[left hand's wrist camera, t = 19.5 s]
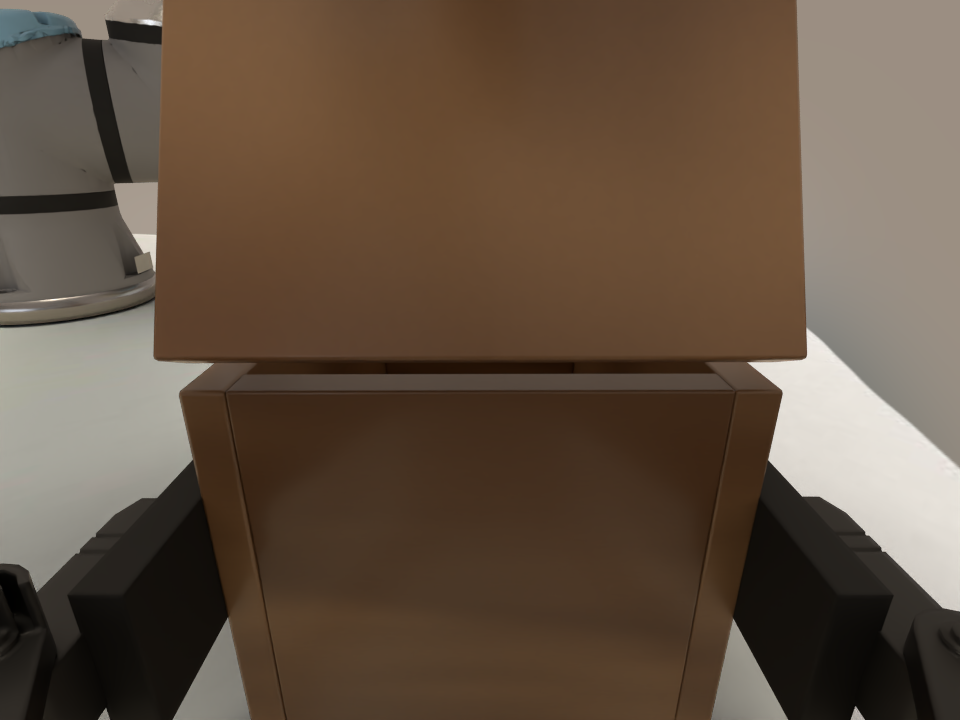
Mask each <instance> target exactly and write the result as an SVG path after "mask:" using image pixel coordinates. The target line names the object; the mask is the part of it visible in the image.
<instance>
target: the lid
mask: <svg viewBox="0 0 960 720" xmlns="http://www.w3.org/2000/svg"><path fill="white" fill-rule="evenodd" d="M806 356H807V338H806V305H805V272H804V238H803V204H802V171H801V138H800V104H799V71H798V37H797V5H796V0H163V13H162V52H161V90H160V128H159V166H158V206H157V243H156V281H155V319H154V359H155V360H158V361H165V362H178V363H563V362H781V361H794V360H803V359H805V358H806Z"/></svg>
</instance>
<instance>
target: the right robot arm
mask: <svg viewBox="0 0 960 720" xmlns="http://www.w3.org/2000/svg"><path fill="white" fill-rule="evenodd" d="M162 13H163V0H116V1H115V3H114V4H113V5H112V6H111V7H110V9H109V10H108V11H107V12H106V13H105V15H104V16H105V21H106V25H107V30H108V34H109V40H94V39H82V35H81V31H80V30H79V29H78V28H77V26H76V24H75V23H74V22H73V21H72V20H71V19H70V18H68V17H65V16H62V15H59V14H54V13H49V12H31V11H29V10H20V9H0V325H18V324H34V323H45V322H55V321H63V320H70V319H77V318H83V317H89V316H95V315H100V314H105V313H109V312H114V311H118V310H122V309H126V308H129V307H132V306H136V305H139V304H141V303H144V302H146V301H149V300H151V299H152V298H154V297H155V281H156V273H155V272H154V271H153V265H152V260H151V256H150V252H147V253H145V254H144V253H143V252H142V250H141V248H140V247H139V245H138V243H137V242H136V240H135V238H134V237H133V235H132V233H131V232H130V230H129V228H128V227H127V225H126V223H125V222H124V220H123V219H122V216H121V214H120V211H119V207H118V203H117V198H116V194H115V190H114V184H115V183H144V182H158V166H159V128H160V90H161V52H162Z"/></svg>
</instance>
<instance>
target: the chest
mask: <svg viewBox="0 0 960 720" xmlns="http://www.w3.org/2000/svg"><path fill="white" fill-rule="evenodd" d="M782 394H783V393H782V390H781V389H779V388H778V387H777V386H776V385H774V384H773V383H772V382H771V381H769V380H768V379H767V378H766V377H764V376H763V375H762V374H761V373H759V372H758V371H757V370H756V369H754V368H753V367H752V366H751V365H749V364H748V363H747V362H563V363H214V364H213V365H212V366H211V367H209V368H208V369H207V370H206V371H204V372H203V373H202V374H201V375H200V376H198V377H197V378H196V379H195V380H193V381H192V382H191V383H190V384H188V385H187V386H186V387H185V388H184V389H182V390H181V391H180V393H179V398H180V403H181V407H182V412H183V416H184V421H185V425H186V430H187V434H188V439H189V443H190V448H191V452H192V457H193V461H194V466H195V470H196V475H197V479H198V484H199V488H200V493H201V497H202V502H203V506H204V511H205V515H206V520H207V524H208V529H209V533H210V538H211V542H212V547H213V551H214V556H215V560H216V565H217V569H218V574H219V578H220V583H221V587H222V592H223V596H224V601H225V605H226V610H227V614H228V619H229V623H230V628H231V632H232V637H233V641H234V646H235V650H236V655H237V659H238V664H239V668H240V672H241V677H242V681H243V686H244V690H245V695H246V699H247V704H248V708H249V713H250V717H251V720H711V716H712V712H713V707H714V703H715V698H716V694H717V689H718V685H719V680H720V676H721V671H722V666H723V662H724V657H725V653H726V648H727V644H728V639H729V635H730V630H731V626H732V621H733V615H734V610H735V606H736V601H737V596H738V592H739V587H740V583H741V578H742V574H743V569H744V565H745V560H746V556H747V551H748V547H749V542H750V538H751V533H752V529H753V524H754V520H755V515H756V511H757V506H758V502H759V498H760V494H761V489H762V485H763V480H764V476H765V471H766V467H767V462H768V458H769V453H770V449H771V444H772V440H773V435H774V430H775V426H776V421H777V417H778V412H779V408H780V403H781V399H782Z"/></svg>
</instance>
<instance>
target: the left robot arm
mask: <svg viewBox="0 0 960 720" xmlns="http://www.w3.org/2000/svg"><path fill="white" fill-rule="evenodd" d="M227 618H228V614H227V610H226V605H225V601H224V596H223V592H222V587H221V583H220V578H219V574H218V569H217V565H216V560H215V556H214V551H213V547H212V542H211V538H210V533H209V529H208V524H207V520H206V515H205V511H204V506H203V502H202V497H201V493H200V488H199V484H198V479H197V475H196V470H195V466H194V461H193V460H192V461H191V462H190V464H189V465H188V466H187V467H186V468H185V469H184V470H183V471H182V472H181V473H180V474H179V475H178V476H177V477H176V479H175V480H174V481H173V482H172V483H171V484H170V485H169V486H168V487H167V488H166V489H165V490H164V491H163V492H162V494H161V495H160V496H159V497H158V498H142V499H140V500H139V501H137V502H135V503H134V504H132V505H130V506H129V507H127V508H125V509H124V510H122V511H120V512H119V513H117V514H115V515H114V516H113V517H112V518H111V519H110V520H109V521H108V522H107V523H106V524H105V525H104V526H103V527H102V528H101V529H100V530H99V531H98V532H97V533H96V537H92V538H91V539H90V540H89V541H88V542H87V543H86V544H85V545H84V546H83V547H82V548H81V549H80V553H79V554H75V555H74V556H73V557H72V558H71V559H70V560H69V561H68V562H67V563H66V564H65V565H64V566H63V567H62V568H61V569H60V570H59V571H58V572H57V573H56V574H55V575H54V576H53V577H52V578H51V579H50V580H49V581H48V582H47V583H46V584H45V585H44V586H43V587H42V588H41V589H40V590H39V591H38V592H37V593H36V590H35V588H34V585H33V582H32V579H31V577H30V574H29V571H28V570H26V569H25V568H23V567H21V566H20V565H15V564H0V720H98V718H99V717H100V715H101V714H102V712H103V711H104V709H105V708H106V709H107V712H108V714H109V717H110V720H172V719H173V718H174V716H175V714H176V712H177V710H178V708H179V706H180V705H181V703H182V701H183V699H184V697H185V695H186V694H187V692H188V690H189V688H190V686H191V684H192V682H193V681H194V679H195V677H196V675H197V673H198V671H199V670H200V668H201V666H202V664H203V662H204V660H205V658H206V657H207V655H208V653H209V651H210V649H211V647H212V646H213V644H214V642H215V640H216V638H217V636H218V634H219V633H220V631H221V629H222V627H223V625H224V623H225V621H226V620H227ZM733 619H734V620H735V622H736V624H737V626H738V628H739V630H740V631H741V633H742V635H743V637H744V639H745V641H746V643H747V644H748V646H749V648H750V650H751V652H752V654H753V655H754V657H755V659H756V661H757V663H758V665H759V667H760V668H761V670H762V672H763V674H764V676H765V678H766V679H767V681H768V683H769V685H770V687H771V689H772V691H773V692H774V694H775V696H776V698H777V700H778V702H779V703H780V705H781V707H782V709H783V711H784V713H785V715H786V716H787V718H788V720H851V717H852V714H853V711H854V708H855V706H856V707H857V709H858V710H859V712H860V713H861V714H862V716H863V717H864V719H865V720H960V612H959V611H954V610H949V609H944V608H942V607H941V606H940V605H939V604H938V603H937V602H936V601H935V600H934V599H933V598H932V597H931V596H930V595H929V594H928V593H927V592H926V591H925V590H924V589H923V588H922V587H921V586H920V585H918V584H917V583H916V582H915V581H914V580H913V579H912V578H911V577H910V576H909V575H908V574H907V573H906V572H905V571H904V570H903V569H902V568H901V567H900V566H899V565H898V564H897V563H896V562H895V561H894V560H893V559H892V558H891V557H890V556H889V555H888V554H887V553H886V552H882V550H881V547H880V546H879V545H878V544H877V543H876V542H875V541H874V540H873V539H872V538H871V537H870V536H866V535H865V531H864V530H863V529H862V528H861V527H860V526H859V525H858V524H857V523H856V522H855V521H854V520H853V519H852V518H851V517H850V516H849V515H848V514H847V513H845V512H844V511H842V510H840V509H839V508H837V507H835V506H834V505H832V504H830V503H829V502H827V501H825V500H824V499H822V498H820V497H802V496H801V495H800V494H799V493H798V492H797V491H796V490H795V489H794V487H793V486H792V485H791V484H790V483H789V482H788V481H787V480H786V479H785V478H784V477H783V476H782V475H781V474H780V472H779V471H778V470H777V469H776V468H775V467H774V466H773V465H772V464H771V463H770V462H769V461H768V462H767V467H766V471H765V476H764V480H763V485H762V489H761V494H760V498H759V502H758V506H757V511H756V515H755V520H754V524H753V529H752V533H751V538H750V542H749V547H748V551H747V556H746V560H745V565H744V569H743V574H742V578H741V583H740V587H739V592H738V596H737V601H736V606H735V610H734V615H733Z"/></svg>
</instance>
